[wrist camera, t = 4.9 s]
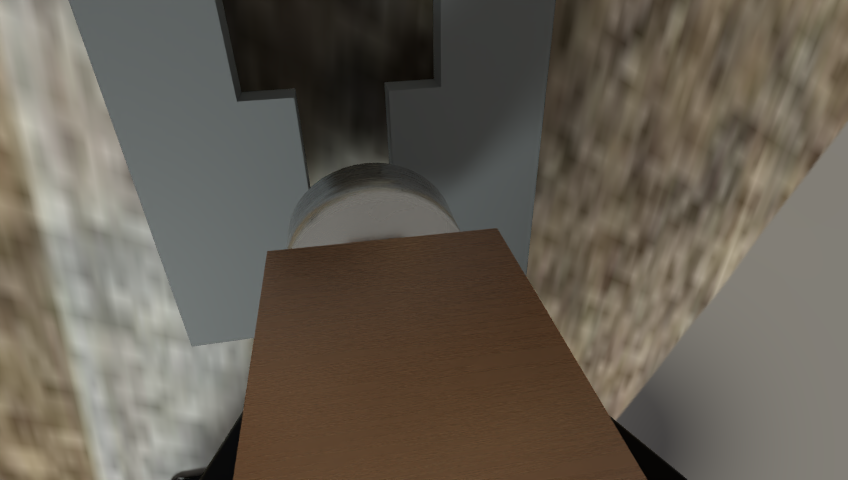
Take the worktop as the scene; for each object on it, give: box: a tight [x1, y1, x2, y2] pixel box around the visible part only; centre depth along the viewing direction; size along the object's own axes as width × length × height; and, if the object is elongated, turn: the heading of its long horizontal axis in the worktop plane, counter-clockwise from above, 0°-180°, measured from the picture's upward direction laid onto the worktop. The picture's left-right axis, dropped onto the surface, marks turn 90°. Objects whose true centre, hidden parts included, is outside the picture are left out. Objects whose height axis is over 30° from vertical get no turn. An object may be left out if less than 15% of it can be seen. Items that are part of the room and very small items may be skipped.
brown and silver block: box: [233, 163, 647, 480], centre depth 10 cm, size 4×5×9 cm
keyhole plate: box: [69, 0, 556, 346], centre depth 16 cm, size 12×16×6 cm
